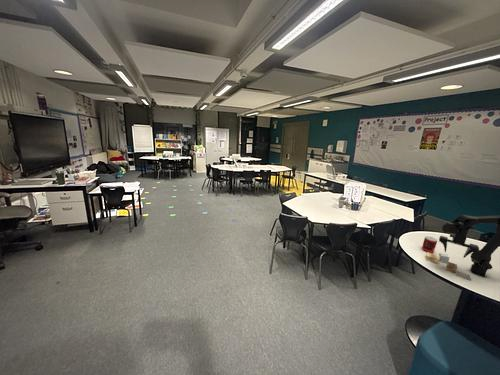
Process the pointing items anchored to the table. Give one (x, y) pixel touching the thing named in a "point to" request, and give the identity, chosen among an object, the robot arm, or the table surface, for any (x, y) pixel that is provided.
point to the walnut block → (451, 267)
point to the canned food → (429, 244)
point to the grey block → (443, 258)
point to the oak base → (432, 258)
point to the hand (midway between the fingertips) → (454, 254)
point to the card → (463, 275)
